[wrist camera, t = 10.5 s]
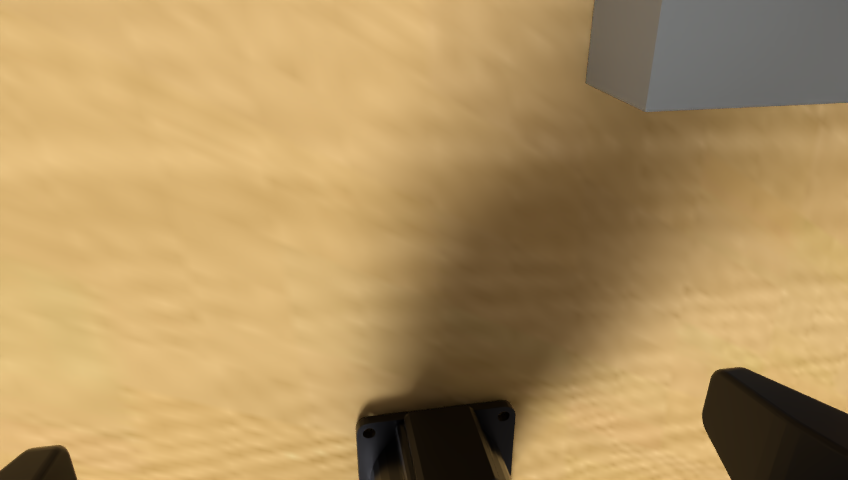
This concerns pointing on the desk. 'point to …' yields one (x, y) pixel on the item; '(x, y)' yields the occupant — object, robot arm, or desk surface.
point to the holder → (719, 53)
